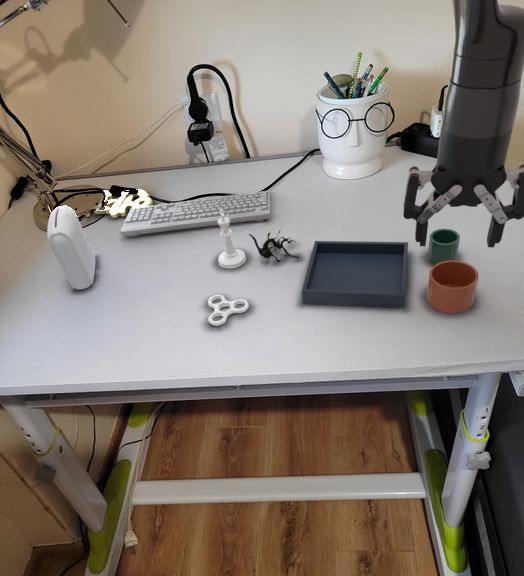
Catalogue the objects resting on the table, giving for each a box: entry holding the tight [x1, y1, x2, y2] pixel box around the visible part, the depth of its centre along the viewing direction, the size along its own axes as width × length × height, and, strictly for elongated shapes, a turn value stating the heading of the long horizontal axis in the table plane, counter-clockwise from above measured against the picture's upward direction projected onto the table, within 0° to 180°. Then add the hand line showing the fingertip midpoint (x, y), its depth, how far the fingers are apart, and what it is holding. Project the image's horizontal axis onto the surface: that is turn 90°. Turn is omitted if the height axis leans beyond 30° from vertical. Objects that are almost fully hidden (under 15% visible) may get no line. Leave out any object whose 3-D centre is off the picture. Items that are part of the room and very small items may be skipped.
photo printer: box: [46, 205, 96, 291], centre depth 88 cm, size 10×4×12 cm, turn 11°
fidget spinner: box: [207, 294, 250, 327], centre depth 80 cm, size 7×6×1 cm
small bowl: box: [427, 228, 461, 265], centre depth 80 cm, size 4×4×4 cm
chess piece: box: [217, 209, 247, 269], centre depth 86 cm, size 5×5×10 cm
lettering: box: [84, 189, 154, 219], centre depth 109 cm, size 25×10×1 cm, turn 80°
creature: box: [248, 228, 300, 263], centre depth 87 cm, size 8×5×8 cm
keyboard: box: [119, 190, 271, 238], centre depth 100 cm, size 29×10×2 cm, turn 90°
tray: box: [301, 240, 409, 309], centre depth 80 cm, size 15×13×2 cm
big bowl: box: [426, 260, 479, 314], centre depth 73 cm, size 6×6×4 cm
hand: (456, 243), depth 68 cm, fingers open, 8 cm apart
